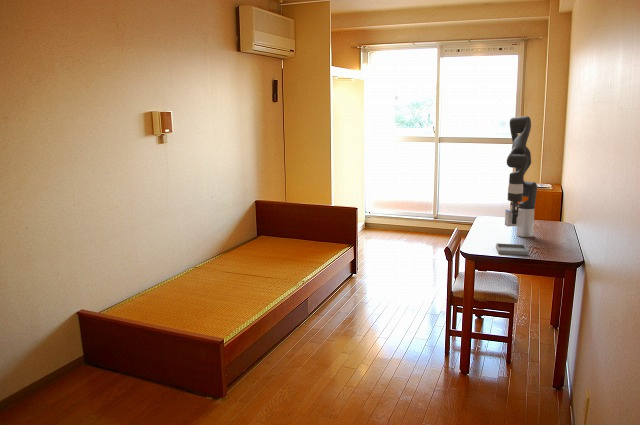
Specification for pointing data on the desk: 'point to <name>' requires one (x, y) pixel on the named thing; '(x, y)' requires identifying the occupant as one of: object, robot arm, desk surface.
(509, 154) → the robot arm
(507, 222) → the medicine box
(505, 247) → the tray
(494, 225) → the desk surface
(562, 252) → the desk surface
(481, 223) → the desk surface
